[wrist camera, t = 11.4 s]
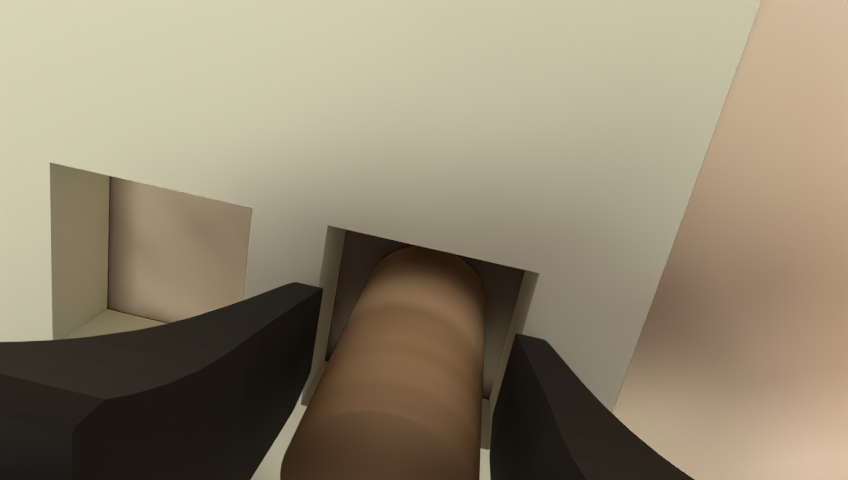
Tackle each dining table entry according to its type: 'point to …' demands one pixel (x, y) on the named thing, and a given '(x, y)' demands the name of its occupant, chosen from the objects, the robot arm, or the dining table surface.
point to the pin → (401, 379)
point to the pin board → (367, 149)
